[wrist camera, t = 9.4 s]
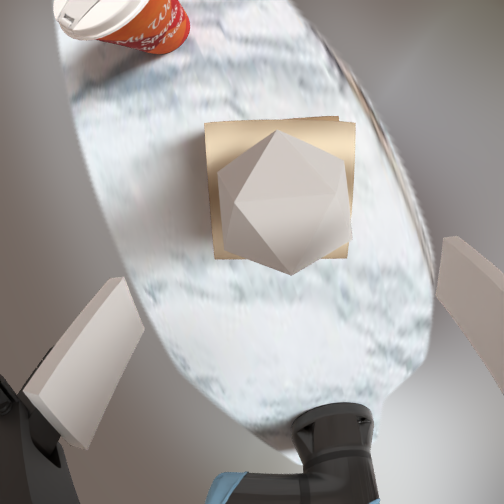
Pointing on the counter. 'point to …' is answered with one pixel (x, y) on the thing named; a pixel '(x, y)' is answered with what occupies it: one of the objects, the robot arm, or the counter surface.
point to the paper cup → (126, 22)
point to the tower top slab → (253, 131)
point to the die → (284, 203)
